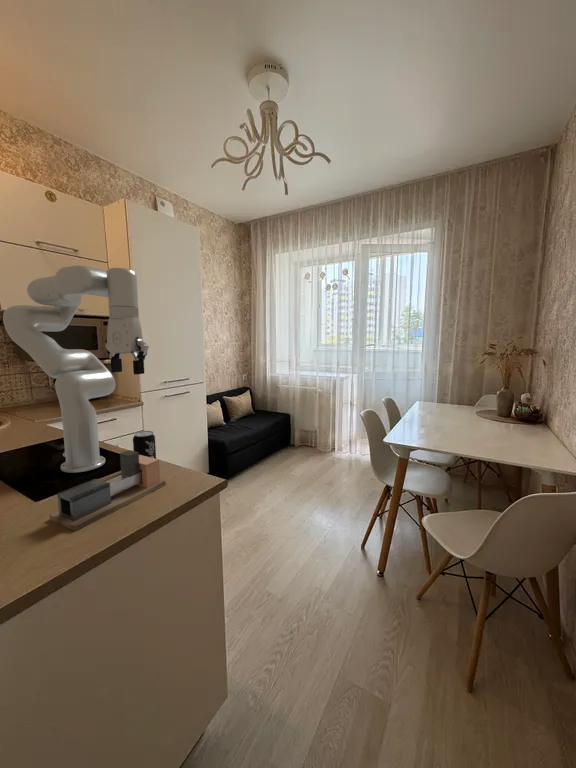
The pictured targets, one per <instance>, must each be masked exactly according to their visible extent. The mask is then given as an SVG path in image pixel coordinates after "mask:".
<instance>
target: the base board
mask: <svg viewBox="0 0 576 768" xmlns="http://www.w3.org/2000/svg"><path fill="white" fill-rule="evenodd" d="M166 484H167V482H166V480H163V479H160V482H159V483H157V484H155V485H153V486H151V487H149V488H145V487H142V486H139V485H134V486H132V487H129V488H127V489H125V490H123V491H121V492H119V493H117V494H114V495H112V496H111V504H109V505H107V506H105V507H103V508H101V509H99V510H97V511H95V512H93V513H91V514H89V515H87V516H84V517H82V518H80V519H78V520H76V521H72V520H69V519H67V518H65V517H63V516H60V515H59V510H57V511H55V512H53V513H50V514H49V520H50V521H53V522H54V523H56V524H59V525H60V526H63V527H65V528H67V529H70V530H71V531H74V532H77V531H79V530H81V529H83V528H85V527H87V526H88V525H91V524H92V523H94V522H97V521H98V520H100V519H102V518H104V517H107V516H108V515H110V514H112V513H115V512H116V511H118V510H119V509H122V508H124V507H125V506H128V505H129V504H131V503H133V502H136V501H137V500H139V499H141V498H143V497H146V496H147V495H149V494H151V493H153V492H155V491H157V490H158V489H161V488H163V487H164V486H166Z"/></svg>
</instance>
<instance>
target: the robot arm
mask: <svg viewBox="0 0 576 768" xmlns="http://www.w3.org/2000/svg"><path fill="white" fill-rule="evenodd" d="M26 290H27V291H26V292H27V295H28V296H29V298H30V299H31V300H32V301H33V302H34V303H37V304H39V305H32V304H31V305H30V304H29V305H28V304H18V305H11V306H10V307H8V308H7V309H5V310H4V312H3V314H2V321H3V322H2V323H3V326H4V329H5V331H6V333H7V334H8V336H9V338H10V339H11V340H12V341H13V342H14V343H15V344H16V345H17V346H19V347H20V348H21V349H22V350H23V351H25V352H26V353H27V354H28V355H29V356H30V357H31V358H32V360H33V361H34V362H35V363H36V364H37V365H38V366H39V367H40V369H41V370H42V371H43V372H44V374H46V375H47V376H48V377H50V378H52V379H56V380H55V382H54V389H55V392H56V396H57V398H58V403H59V406H60V413H61V422H62V423H61V424H62V433H63V434H62V435H63V441H64V442H63V443H64V445H63V446H64V452H63V453H62V456H63V457H65V461H64V462H63V463H61V464H60V470H61V471H62V472H64V473H69V474H73V473H74V474H75V473H77V474H78V473H82V472H84V473H85V472H88V471H92V470H95V469H98V468H100V467H103V465H105V464H106V458H105V457H104V456H102V455H100V443H99V442H100V440H99V429H98V416H97V411H96V408H95V407H94V406H93V404H92V403H91V402H90V401H89V400H91V399H97V398H100V397H105V396H108V395H111V394H112V393H113V392H114V390H115V389H116V380H115V376H113V373H121V372H123V364H122V358H121V356H122V355H123V354H124V355H125V354H126V355H127V354H131V356H132V357H133V359H134V360H132V365H133V366H132V368H133V371H132V372H133V374H134V376H135V375H142V374H145V360H146V356H147V355H148V351H149V347H150V345H149V344H147V343H146V342H145V341H144V340H143V339H144V338H143V332H142V325H141V319H140V316H139V313H140V312H139V299H138V298H139V297H138V279H137V274H136V272H135V271H134V270H133V269H130V268H124V267H111V268H108V270H104V269H101V268H97V267H91V266H86V265H71V266H65V267H61V268H59V269H58V270H57V271H56V272H55V275H52V276H46V277H40V278H36V279H33V280H32V281H30V282H29V283H28V286H27V289H26ZM83 295H86V296H87V295H89V296H95V297H101V298H102V297H103V298H107V299H108V312H109V313H108V314H109V318H108V319H107V320H108V321H107V328H106V329H107V330H106V331H107V332H106V336H107V337H106V343H105V344H104V345H105V348H106V353H107V354H108V358H109V360H110V370H109V369H108V368H107V367H106V366H105V365H104V363H103V362H102V361H101V360H100V359H99V358H97V356H96V355H95V353H94V354H93V353H92V352H91V351H89V350H86V349H82V348H81V349H80V348H78V349H76V348H74V349H69V348H63V347H61V345H60V344H58V343H57V342H56V340H55V339H54V338H52V337H50V336H49V335H47V334H45V333H43V332H62V331H64V330H66V329H67V328H68V326H69V325H70V323H71V321H72V319H73V317H74V316H75V314H76V312H77V311H78V309H79V307H80V304H81V302H82V297H83ZM41 305H42V306H41Z"/></svg>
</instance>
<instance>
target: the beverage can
mask: <svg viewBox="0 0 576 768" xmlns="http://www.w3.org/2000/svg"><path fill="white" fill-rule="evenodd" d="M156 448H157V447H156V436H155V435H154V431H153V430H152V431H151V430H141V431H137V432H135V433H134V434H133V437H132V449H133V450H132V451H135V452H139V455H143V456H147V457H151V458H155V459H157V453H156V451H157V450H156Z"/></svg>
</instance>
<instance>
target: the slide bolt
mask: <svg viewBox="0 0 576 768" xmlns="http://www.w3.org/2000/svg"><path fill="white" fill-rule="evenodd" d="M119 460H120V475H118V476H115V477H113V478H110V479H108V480H105V481H104V482H107V483H110V494H111V496H112V495H114V494H117V493H119V492H121V491H123V490H125V489H127V488H129V487H132V486H134V485H136V484H138V483H140V482H142V481H143V480H142V470H139V452H135V451H133V450H131V449H129V450H127V451H122V452H120V453H119Z"/></svg>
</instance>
